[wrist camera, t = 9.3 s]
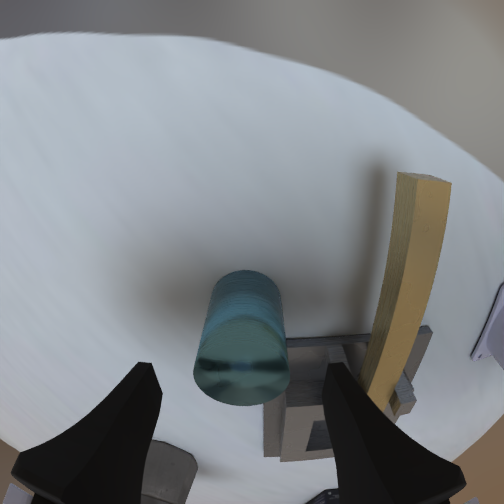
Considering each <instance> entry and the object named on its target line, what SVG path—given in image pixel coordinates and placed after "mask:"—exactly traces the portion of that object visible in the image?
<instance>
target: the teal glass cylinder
mask: <svg viewBox="0 0 504 504" xmlns="http://www.w3.org/2000/svg"><path fill="white" fill-rule="evenodd" d="M193 375H194V379H195V382H196V384H197V385H198V387H199V388H200V389H201V390H202V391H203V392H204V393H205V394H206V395H208V396H209V397H211V398H213V399H215V400H217V401H219V402H222V403H226V404H230V405H236V406H252V405H258V404H262V403H266V402H268V401H271V400H273V399H275V398H276V397H278V396H279V395H280V394H281V393H283V391H284V390H285V389H286V388H287V386H288V384H289V381H290V370H289V361H288V353H287V344H286V336H285V328H284V320H283V312H282V304H281V297H280V292H279V290H278V288H277V286H276V285H275V283H274V282H273V281H272V280H271V279H270V278H268V277H267V276H265V275H263V274H261V273H259V272H255V271H250V270H242V271H235V272H232V273H230V274H228V275H226V276H224V277H223V278H221V279H220V280H219V281H218V282H217V284H216V285H215V287H214V289H213V292H212V296H211V300H210V304H209V308H208V312H207V316H206V320H205V324H204V328H203V332H202V336H201V340H200V344H199V348H198V353H197V357H196V361H195V365H194V370H193Z"/></svg>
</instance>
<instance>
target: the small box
mask: <svg viewBox="0 0 504 504" xmlns="http://www.w3.org/2000/svg"><path fill="white" fill-rule="evenodd" d="M306 504H340V503H339V489H332V490H325V491H324V492H322V493H321V494H319V495H318V496H316V497H315V498H314V499H312V500H311V501H309V502H308V503H306Z"/></svg>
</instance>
